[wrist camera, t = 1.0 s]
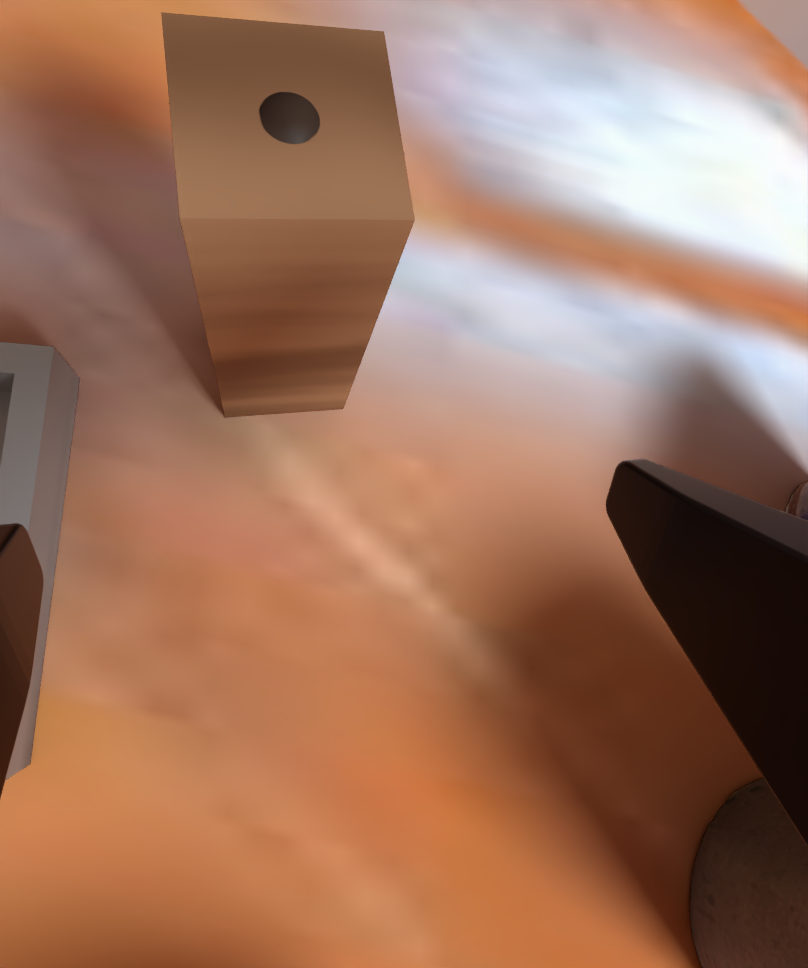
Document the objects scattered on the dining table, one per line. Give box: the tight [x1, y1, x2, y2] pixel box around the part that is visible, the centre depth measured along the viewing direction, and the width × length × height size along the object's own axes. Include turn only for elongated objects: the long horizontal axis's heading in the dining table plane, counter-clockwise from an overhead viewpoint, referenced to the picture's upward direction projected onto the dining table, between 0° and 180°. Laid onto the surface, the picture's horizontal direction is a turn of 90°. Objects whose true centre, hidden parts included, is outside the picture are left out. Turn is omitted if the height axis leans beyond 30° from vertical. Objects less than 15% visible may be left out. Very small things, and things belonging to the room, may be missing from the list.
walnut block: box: [161, 13, 415, 417], centre depth 18 cm, size 4×4×12 cm
